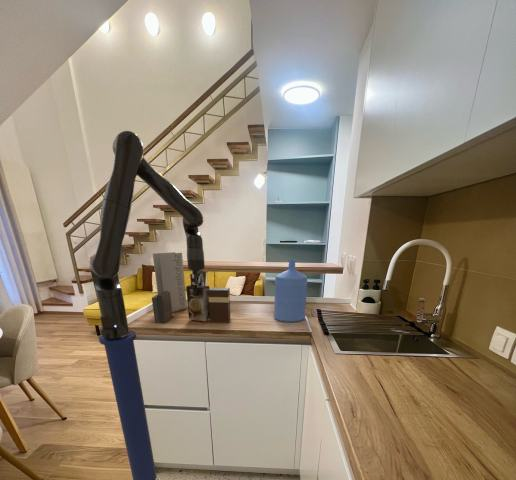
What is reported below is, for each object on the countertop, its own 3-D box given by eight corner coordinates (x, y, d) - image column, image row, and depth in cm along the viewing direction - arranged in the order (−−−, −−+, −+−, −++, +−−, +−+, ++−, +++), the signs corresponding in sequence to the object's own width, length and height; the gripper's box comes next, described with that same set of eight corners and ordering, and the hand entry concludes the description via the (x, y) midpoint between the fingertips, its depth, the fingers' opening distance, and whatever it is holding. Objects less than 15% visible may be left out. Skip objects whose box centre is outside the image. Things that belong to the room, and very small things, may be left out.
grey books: (165, 323, 132) (161, 295, 127) (154, 322, 132) (151, 295, 127) (172, 316, 142) (169, 291, 137) (163, 316, 142) (159, 290, 138)
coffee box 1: (188, 319, 135) (185, 286, 129) (195, 316, 141) (193, 284, 135) (204, 321, 132) (202, 287, 126) (211, 318, 138) (209, 285, 132)
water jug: (310, 320, 137) (315, 261, 127) (281, 323, 132) (283, 262, 122) (296, 312, 151) (299, 258, 140) (269, 315, 146) (270, 259, 136)
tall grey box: (166, 313, 147) (159, 254, 136) (159, 312, 150) (152, 253, 139) (186, 308, 158) (181, 252, 147) (180, 306, 161) (174, 252, 150)
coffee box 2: (228, 322, 133) (227, 290, 128) (210, 322, 134) (208, 290, 128) (230, 319, 139) (229, 287, 133) (212, 318, 139) (210, 287, 133)
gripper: (191, 257, 132) (194, 291, 139) (182, 259, 119) (186, 297, 125) (207, 257, 132) (209, 291, 138) (200, 260, 119) (202, 297, 125)
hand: (198, 294), depth 132 cm, fingers closed on coffee box 1, 7 cm apart
